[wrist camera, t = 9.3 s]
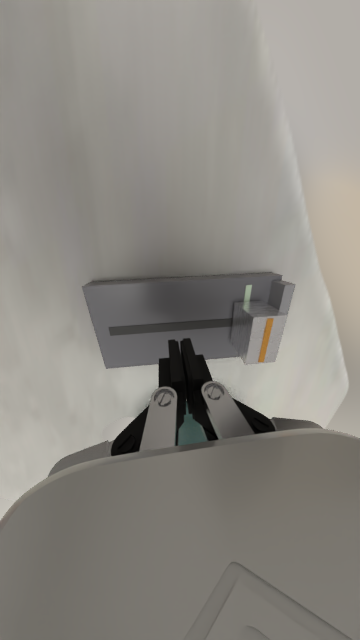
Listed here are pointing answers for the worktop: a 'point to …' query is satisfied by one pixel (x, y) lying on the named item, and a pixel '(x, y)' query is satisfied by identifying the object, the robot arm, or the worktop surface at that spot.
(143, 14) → the worktop surface
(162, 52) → the worktop surface
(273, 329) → the fader knob
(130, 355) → the fader console
